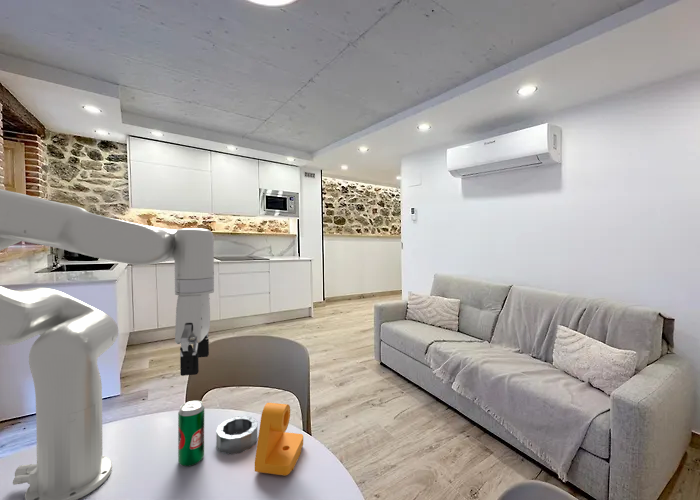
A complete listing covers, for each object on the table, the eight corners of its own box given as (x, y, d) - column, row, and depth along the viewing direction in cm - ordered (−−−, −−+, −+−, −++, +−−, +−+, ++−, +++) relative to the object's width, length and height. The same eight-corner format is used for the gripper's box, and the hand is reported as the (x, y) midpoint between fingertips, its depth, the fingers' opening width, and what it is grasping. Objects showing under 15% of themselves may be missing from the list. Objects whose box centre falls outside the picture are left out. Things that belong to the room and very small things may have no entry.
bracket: (288, 480, 62) (289, 421, 62) (254, 475, 64) (254, 417, 63) (304, 445, 73) (304, 395, 73) (275, 442, 74) (275, 392, 74)
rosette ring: (213, 456, 69) (213, 441, 69) (220, 432, 78) (220, 418, 77) (256, 450, 71) (256, 435, 71) (258, 427, 80) (258, 414, 80)
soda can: (194, 469, 65) (194, 413, 64) (172, 466, 66) (172, 410, 65) (209, 453, 70) (209, 400, 69) (189, 450, 71) (189, 398, 70)
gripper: (187, 281, 74) (187, 352, 75) (160, 293, 57) (162, 385, 58) (220, 280, 76) (221, 350, 76) (204, 292, 59) (205, 381, 60)
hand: (195, 365), depth 67 cm, fingers open, 9 cm apart
